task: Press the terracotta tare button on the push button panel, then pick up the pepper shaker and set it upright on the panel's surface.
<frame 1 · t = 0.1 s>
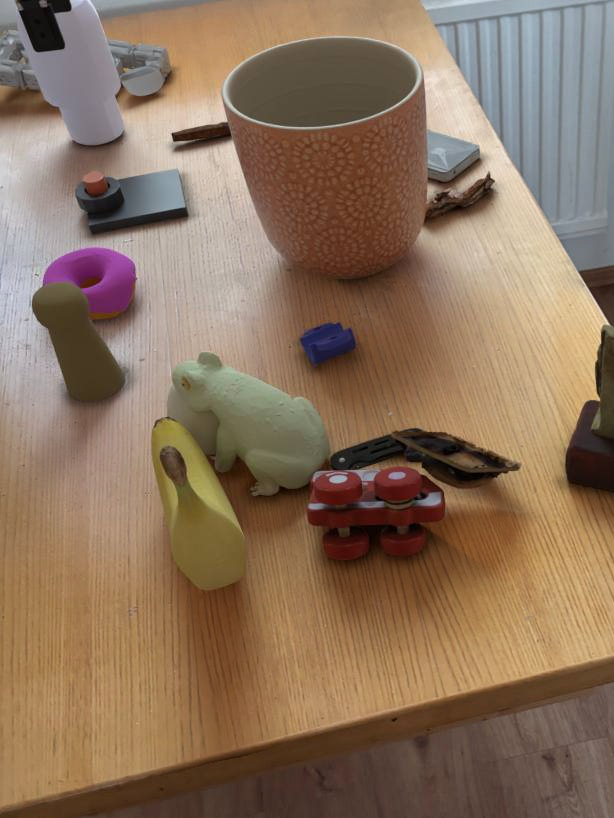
hand: (54, 30, 99), 21 cm above the table, tool pointing down, fingers open, 9 cm apart
folding knife: (374, 440, 90), point 1 cm above the table
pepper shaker: (97, 384, 98), on the table
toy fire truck: (371, 526, 78), point 5 cm above the table, touching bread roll
planter: (350, 252, 110), on the table
banana: (213, 551, 83), on the table
figurine: (253, 454, 91), on the table
soap bottle: (99, 135, 129), on the table
architectural model: (78, 54, 134), point 4 cm above the table
kitchen knife: (247, 126, 129), on the table
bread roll: (502, 467, 87), point 1 cm above the table, touching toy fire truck
push button panel: (137, 205, 118), on the table
tree bark: (444, 207, 117), on the table
tare button: (95, 184, 115), point 3 cm above the table, slide at 0.1 cm
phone: (415, 142, 121), point 2 cm above the table
donut: (98, 303, 106), on the table
bracket: (324, 331, 96), point 3 cm above the table
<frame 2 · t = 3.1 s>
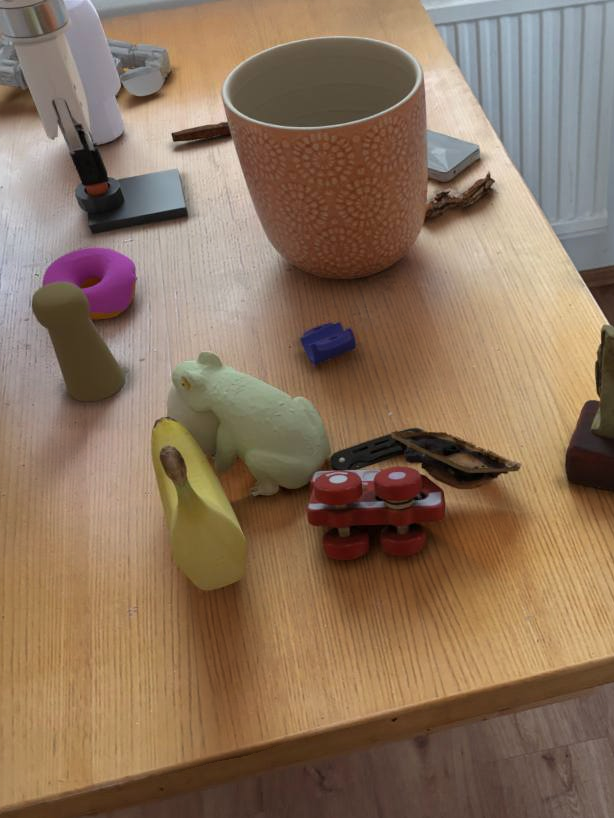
hand: (95, 180, 114), 4 cm above the table, tool pointing down, fingers closed
tare button: (97, 188, 115), point 3 cm above the table, slide at -0.4 cm, touching gripper
everything else where it was.
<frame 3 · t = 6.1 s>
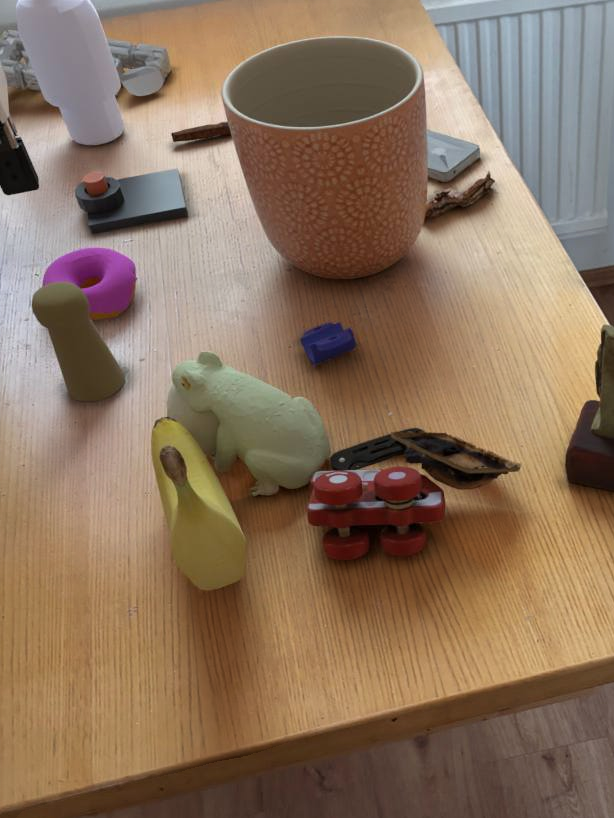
hand: (22, 187, 85), 19 cm above the table, tool pointing down, fingers closed
tare button: (95, 184, 115), point 3 cm above the table, slide at 0.1 cm
everything else where it was.
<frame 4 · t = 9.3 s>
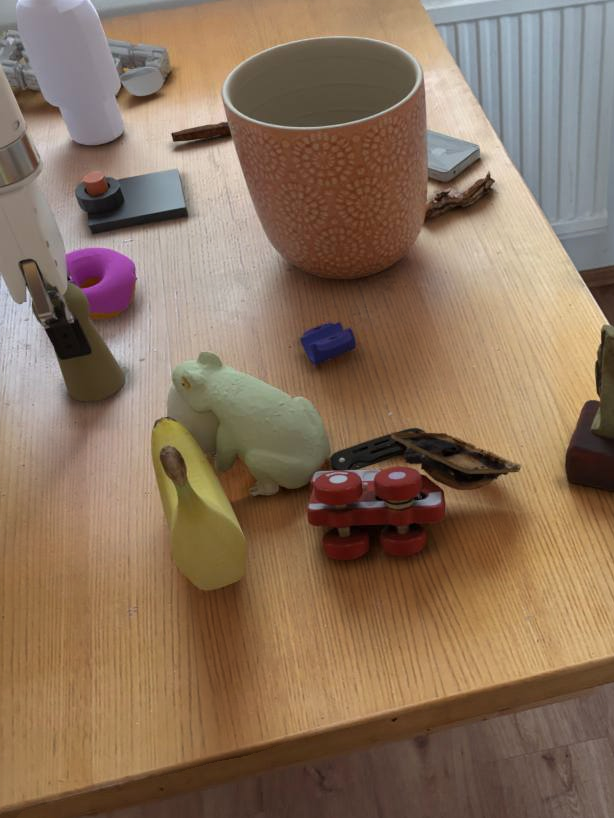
hand: (74, 336, 93), 6 cm above the table, tool pointing down, fingers closed on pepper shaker, 5 cm apart
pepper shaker: (97, 384, 98), on the table, touching gripper
everything else where it was.
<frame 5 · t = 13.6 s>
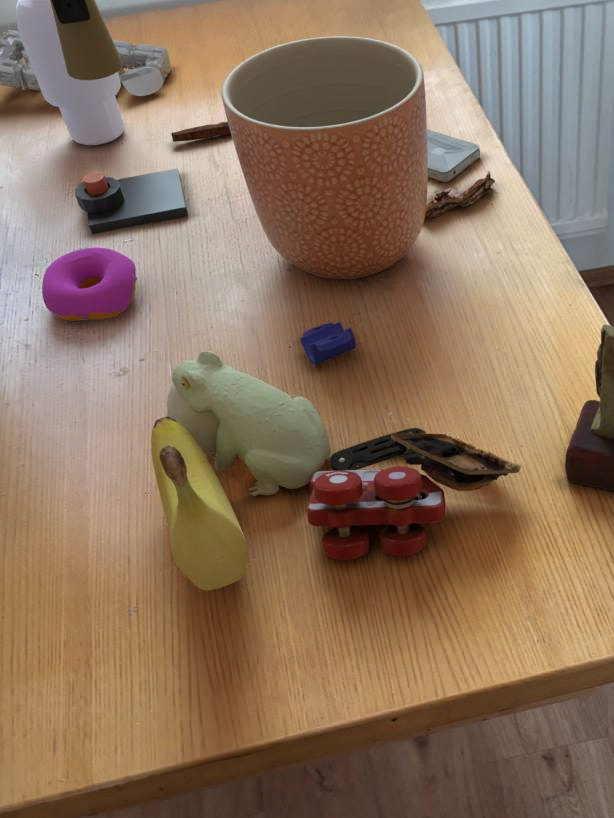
hand: (74, 7, 97), 23 cm above the table, tool pointing down, fingers closed on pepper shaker, 5 cm apart
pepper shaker: (95, 69, 102), point 17 cm above the table, touching gripper
everything else where it was.
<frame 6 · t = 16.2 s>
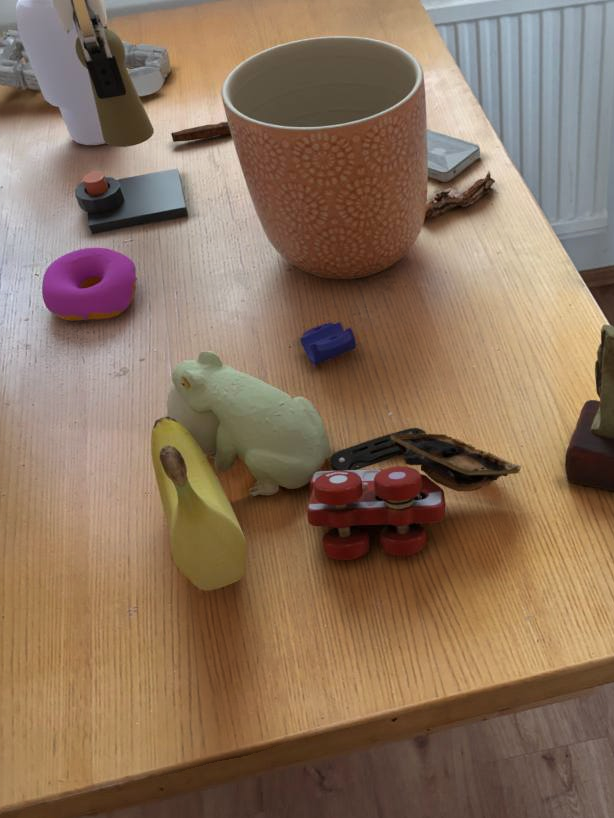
hand: (110, 82, 107), 14 cm above the table, tool pointing down, fingers closed on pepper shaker, 5 cm apart
folding knife: (374, 440, 90), point 1 cm above the table, touching figurine
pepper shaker: (129, 136, 111), point 8 cm above the table, touching gripper
figurine: (253, 454, 91), on the table, touching folding knife
everything else where it was.
when the fingers open (9 cm above the table, at t = 18.1 s): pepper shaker drops 2 cm, resting on push button panel.
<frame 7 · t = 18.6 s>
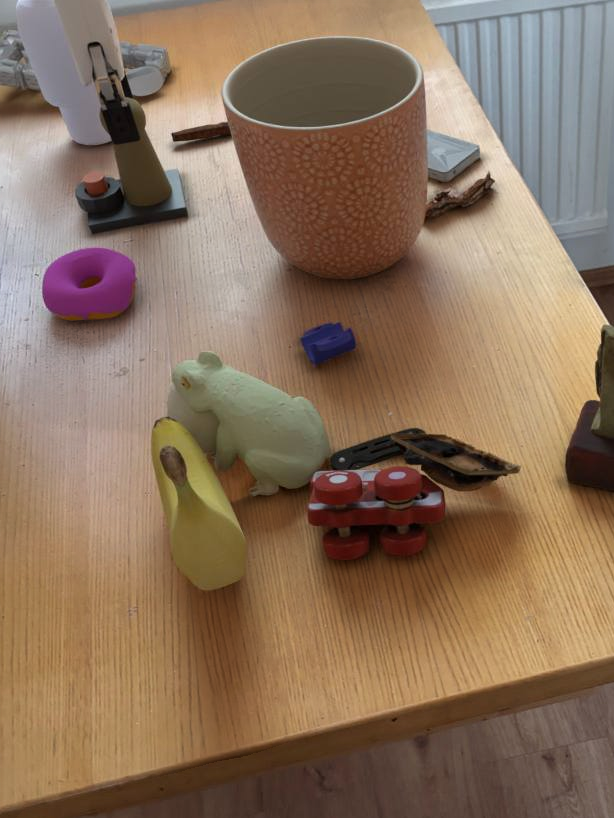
hand: (124, 122, 110), 10 cm above the table, tool pointing down, fingers open, 9 cm apart
folding knife: (374, 440, 90), point 1 cm above the table
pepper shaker: (149, 194, 117), point 1 cm above the table, touching push button panel
figurine: (253, 454, 91), on the table
everything else where it was.
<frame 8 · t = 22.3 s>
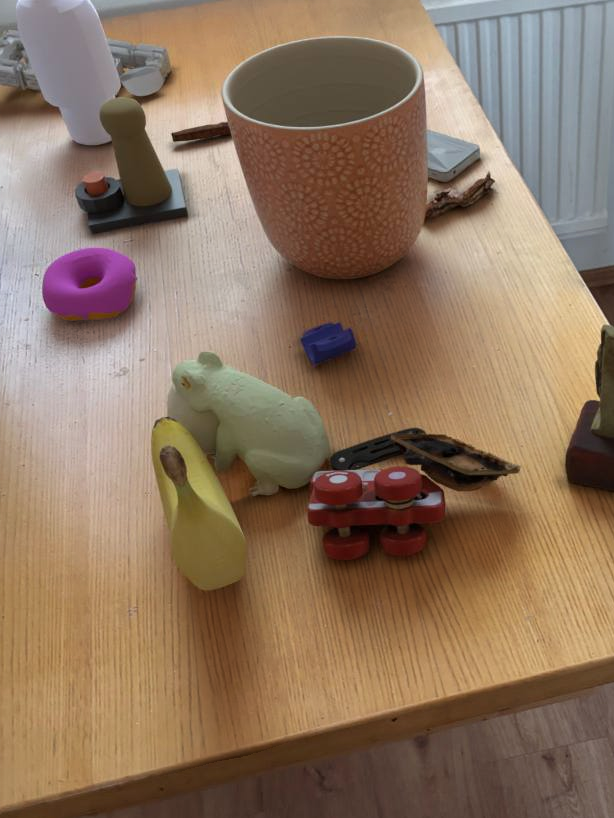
nothing on the table moved.
at the end: tare button pushed in 1.1 cm at the most during the clip, back to where it started at the end; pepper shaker 0.3 cm from the target spot on the push button panel, point 1.0 cm above the push button panel's base; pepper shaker tilted 0° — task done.
